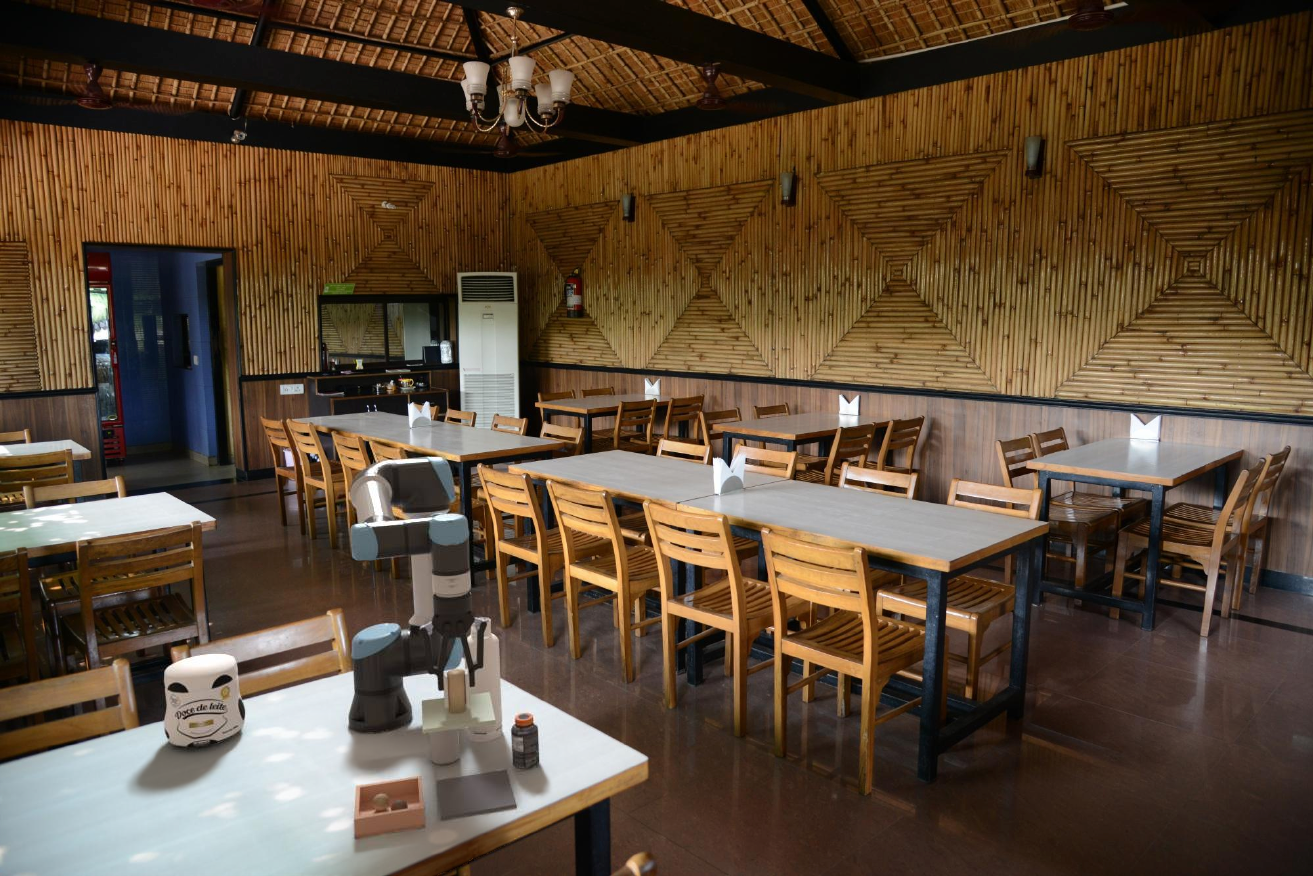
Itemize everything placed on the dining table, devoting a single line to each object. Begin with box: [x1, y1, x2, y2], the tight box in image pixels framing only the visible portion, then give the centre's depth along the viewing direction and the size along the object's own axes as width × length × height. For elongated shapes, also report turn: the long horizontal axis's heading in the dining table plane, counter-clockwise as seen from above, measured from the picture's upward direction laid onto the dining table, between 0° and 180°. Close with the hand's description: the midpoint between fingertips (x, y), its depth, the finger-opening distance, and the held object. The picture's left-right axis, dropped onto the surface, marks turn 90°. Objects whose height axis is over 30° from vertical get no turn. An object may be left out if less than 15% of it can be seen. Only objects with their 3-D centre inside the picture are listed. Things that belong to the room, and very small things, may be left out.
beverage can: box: [428, 729, 461, 766], centre depth 199 cm, size 6×6×12 cm
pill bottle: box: [510, 712, 540, 771], centre depth 196 cm, size 6×6×11 cm
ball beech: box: [373, 794, 389, 811], centre depth 178 cm, size 3×3×3 cm
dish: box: [353, 775, 426, 840], centre depth 177 cm, size 13×13×4 cm
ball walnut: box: [391, 799, 408, 811], centre depth 175 cm, size 3×3×3 cm
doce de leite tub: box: [163, 653, 246, 749], centre depth 211 cm, size 17×17×18 cm
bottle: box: [463, 617, 503, 743], centre depth 210 cm, size 8×8×28 cm
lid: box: [421, 668, 496, 734], centre depth 180 cm, size 14×14×9 cm
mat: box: [435, 769, 518, 821], centre depth 184 cm, size 15×15×1 cm
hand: (457, 703), depth 180 cm, fingers closed on lid, 4 cm apart
